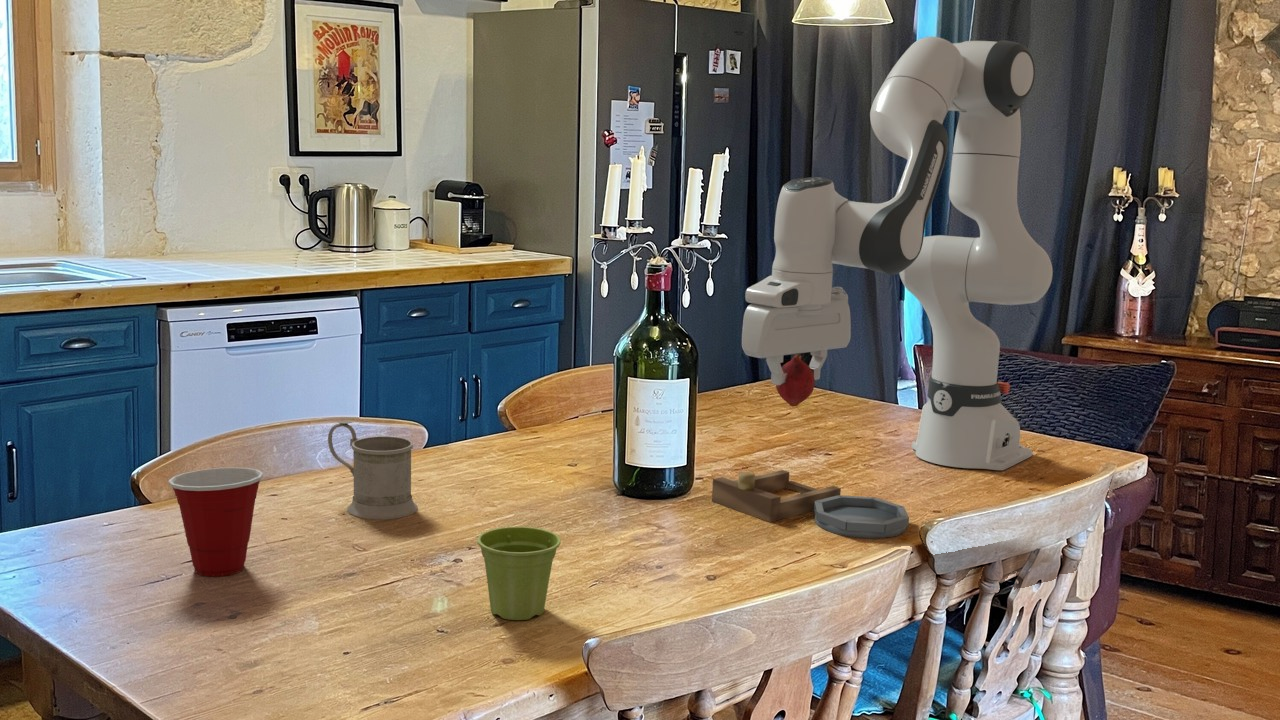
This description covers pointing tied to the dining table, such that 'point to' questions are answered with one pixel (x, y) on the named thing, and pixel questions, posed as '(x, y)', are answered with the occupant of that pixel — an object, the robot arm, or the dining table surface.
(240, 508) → the plastic cup
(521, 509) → the dining table surface
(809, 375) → the onion
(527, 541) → the plant pot
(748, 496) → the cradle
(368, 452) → the mug
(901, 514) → the saucer
